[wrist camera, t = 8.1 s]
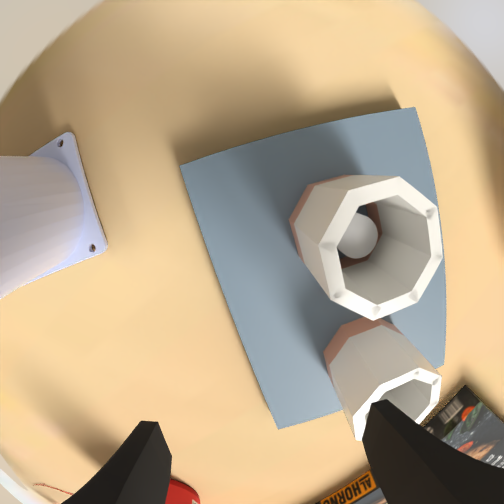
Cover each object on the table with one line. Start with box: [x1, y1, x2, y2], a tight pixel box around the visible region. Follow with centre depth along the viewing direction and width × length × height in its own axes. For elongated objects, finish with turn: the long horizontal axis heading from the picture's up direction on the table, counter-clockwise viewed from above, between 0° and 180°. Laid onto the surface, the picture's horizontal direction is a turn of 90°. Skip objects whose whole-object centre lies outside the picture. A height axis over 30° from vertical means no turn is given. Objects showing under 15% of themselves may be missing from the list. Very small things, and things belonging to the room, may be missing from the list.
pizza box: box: [316, 385, 504, 504], centre depth 27 cm, size 35×35×4 cm
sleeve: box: [289, 175, 443, 321], centre depth 13 cm, size 5×5×6 cm
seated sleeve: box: [323, 317, 442, 441], centre depth 15 cm, size 5×5×6 cm
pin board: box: [180, 107, 446, 429], centre depth 16 cm, size 14×19×4 cm
